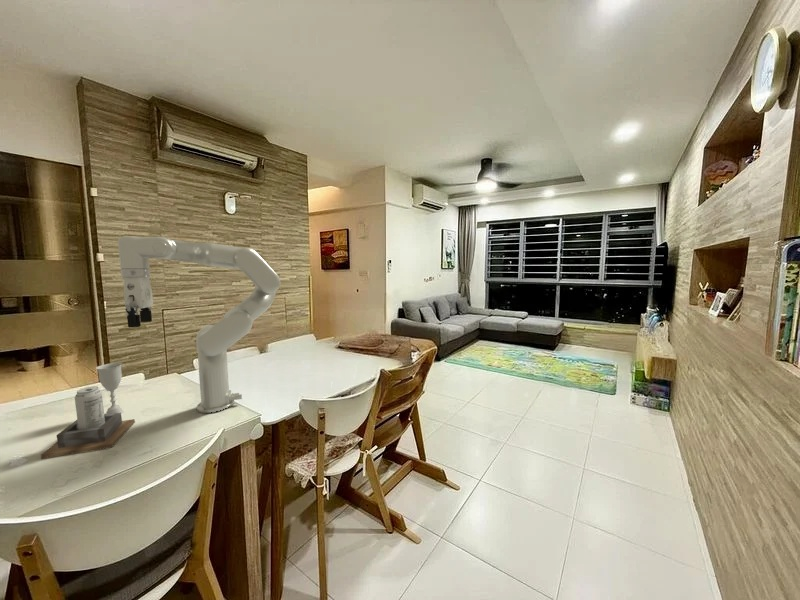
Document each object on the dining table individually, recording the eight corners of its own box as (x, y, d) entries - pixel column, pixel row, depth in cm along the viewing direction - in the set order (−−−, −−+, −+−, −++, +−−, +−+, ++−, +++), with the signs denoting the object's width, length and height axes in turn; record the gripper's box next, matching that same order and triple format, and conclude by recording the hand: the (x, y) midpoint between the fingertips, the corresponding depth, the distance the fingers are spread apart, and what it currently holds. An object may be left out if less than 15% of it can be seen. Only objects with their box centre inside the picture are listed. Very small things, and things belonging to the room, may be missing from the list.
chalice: (111, 418, 113) (105, 369, 111) (96, 416, 115) (90, 368, 112) (132, 409, 120) (127, 363, 118) (117, 407, 122) (112, 362, 119)
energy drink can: (99, 428, 104) (94, 384, 102) (110, 432, 102) (105, 387, 100) (75, 437, 99) (69, 391, 97) (86, 441, 96) (80, 394, 95)
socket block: (134, 422, 111) (133, 408, 110) (111, 447, 96) (110, 431, 95) (75, 430, 105) (73, 415, 104) (41, 458, 90) (38, 441, 90)
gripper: (138, 275, 100) (143, 328, 102) (158, 273, 116) (162, 319, 118) (108, 275, 97) (114, 330, 99) (133, 273, 114) (138, 320, 116)
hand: (140, 324), depth 109 cm, fingers open, 9 cm apart
